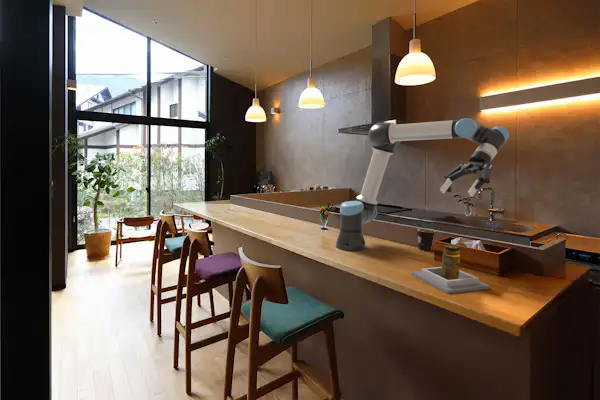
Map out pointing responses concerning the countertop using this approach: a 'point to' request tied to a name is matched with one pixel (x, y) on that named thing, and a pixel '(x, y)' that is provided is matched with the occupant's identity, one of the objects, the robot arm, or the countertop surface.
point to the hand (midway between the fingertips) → (455, 192)
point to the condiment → (450, 262)
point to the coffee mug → (425, 240)
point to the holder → (450, 281)
